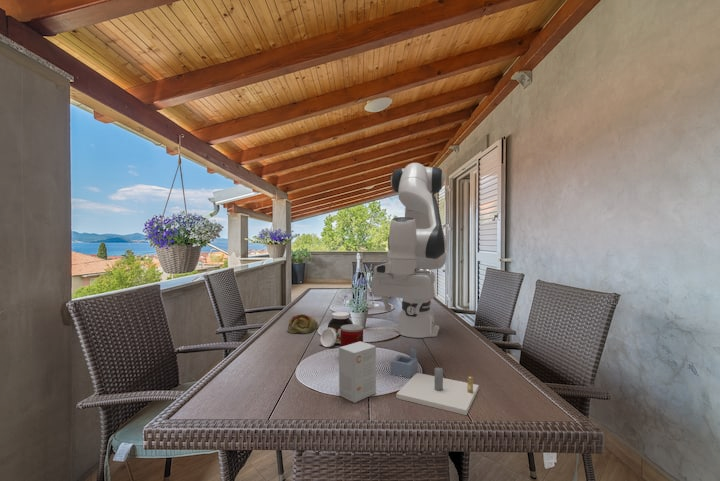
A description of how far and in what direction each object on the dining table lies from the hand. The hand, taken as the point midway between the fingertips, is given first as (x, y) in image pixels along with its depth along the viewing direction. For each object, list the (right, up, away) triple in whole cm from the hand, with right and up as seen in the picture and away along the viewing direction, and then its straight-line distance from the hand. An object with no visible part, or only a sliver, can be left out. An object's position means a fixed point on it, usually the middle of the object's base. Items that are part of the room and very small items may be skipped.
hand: (401, 312), depth 110 cm
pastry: (-38, -18, +47) cm, 63 cm away
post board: (+8, -19, -15) cm, 26 cm away
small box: (-14, -19, -16) cm, 28 cm away
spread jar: (-22, -18, +28) cm, 40 cm away
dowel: (+16, -18, -17) cm, 29 cm away
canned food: (-16, -19, +12) cm, 27 cm away
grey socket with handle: (+2, -19, +2) cm, 19 cm away
